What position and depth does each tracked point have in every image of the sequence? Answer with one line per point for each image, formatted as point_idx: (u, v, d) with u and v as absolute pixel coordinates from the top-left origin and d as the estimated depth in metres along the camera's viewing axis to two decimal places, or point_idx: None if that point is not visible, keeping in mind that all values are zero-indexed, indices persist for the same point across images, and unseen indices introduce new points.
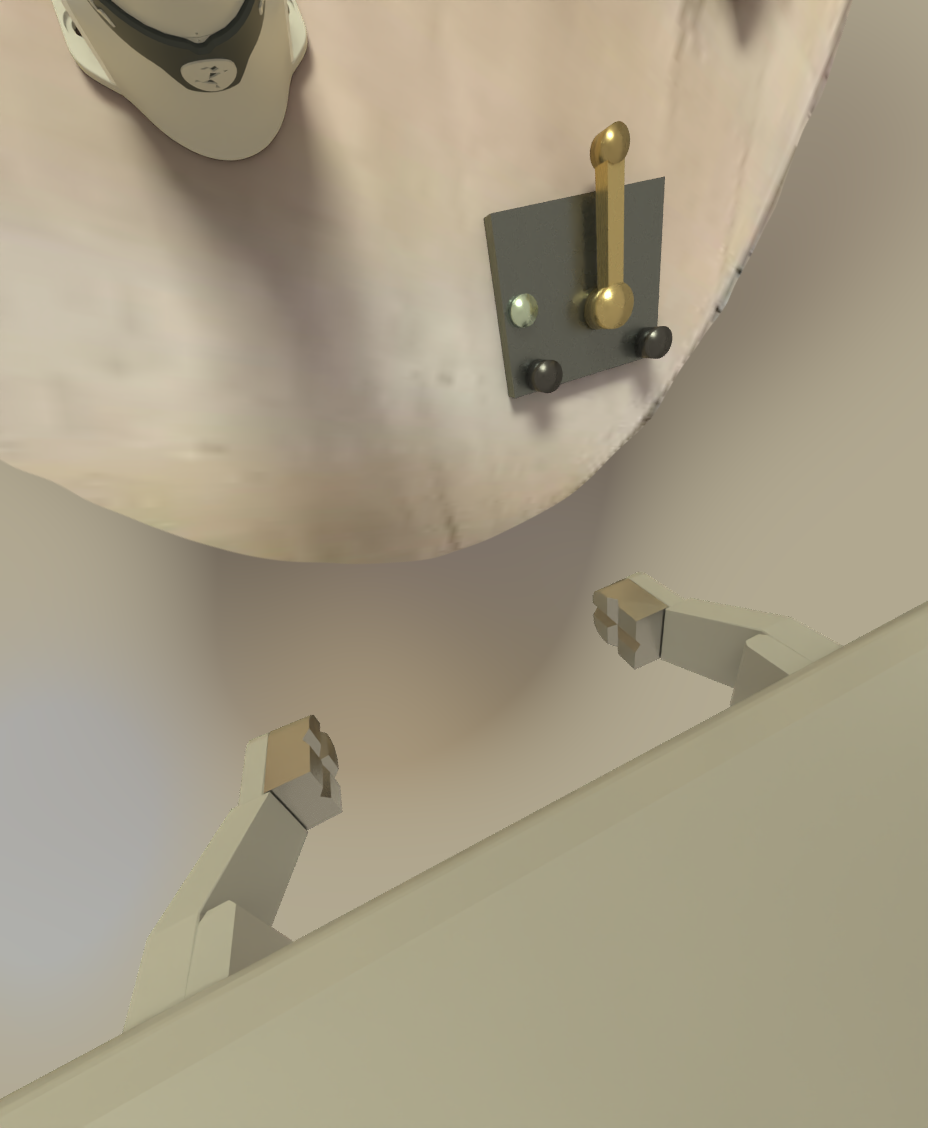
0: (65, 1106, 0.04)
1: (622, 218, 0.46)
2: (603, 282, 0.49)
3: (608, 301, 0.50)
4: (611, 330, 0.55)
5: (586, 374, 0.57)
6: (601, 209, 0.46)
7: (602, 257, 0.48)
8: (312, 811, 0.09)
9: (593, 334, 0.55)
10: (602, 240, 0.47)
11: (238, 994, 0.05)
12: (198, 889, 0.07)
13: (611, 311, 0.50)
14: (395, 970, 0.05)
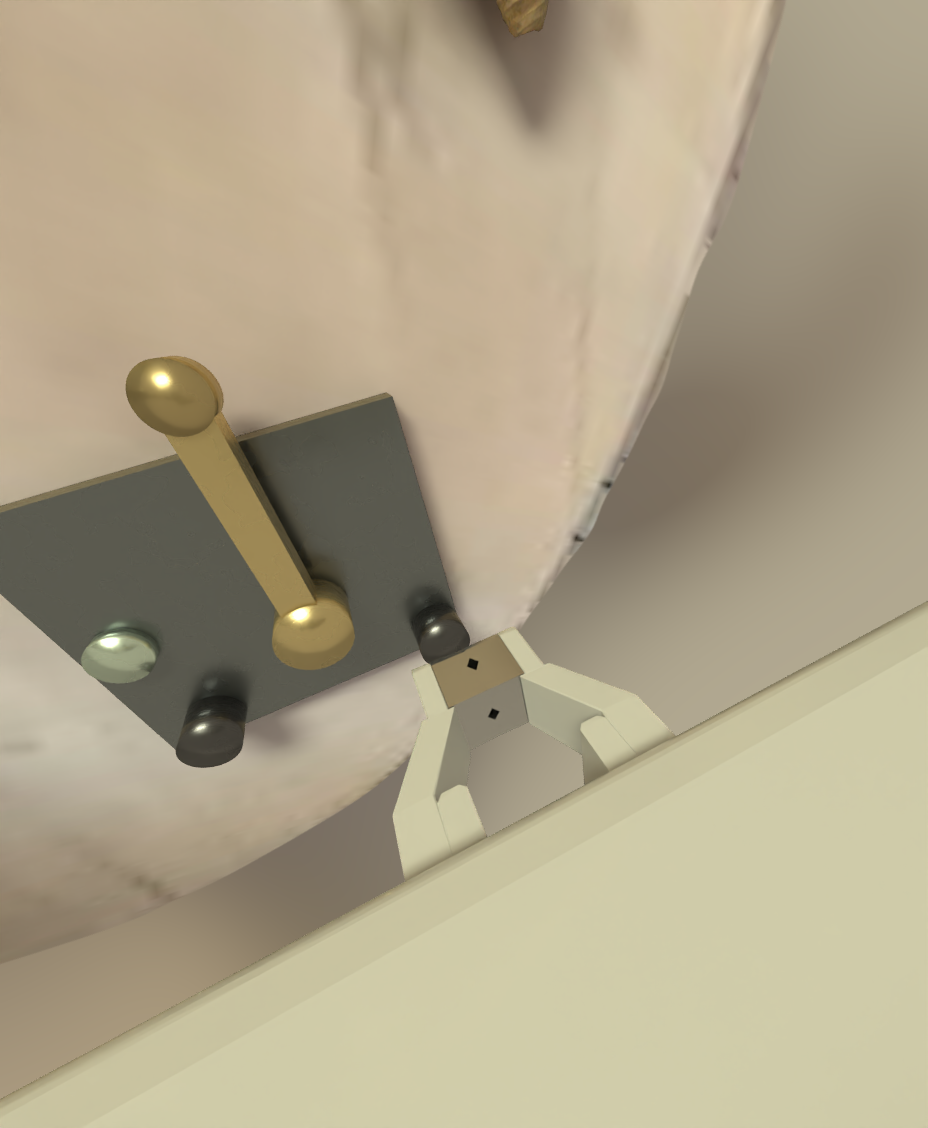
0: (66, 1106, 0.04)
1: (264, 518, 0.21)
2: None
3: (288, 640, 0.25)
4: (355, 626, 0.31)
5: (325, 687, 0.32)
6: None
7: None
8: (478, 731, 0.09)
9: None
10: None
11: (238, 994, 0.05)
12: (423, 778, 0.07)
13: (303, 650, 0.25)
14: (395, 970, 0.05)
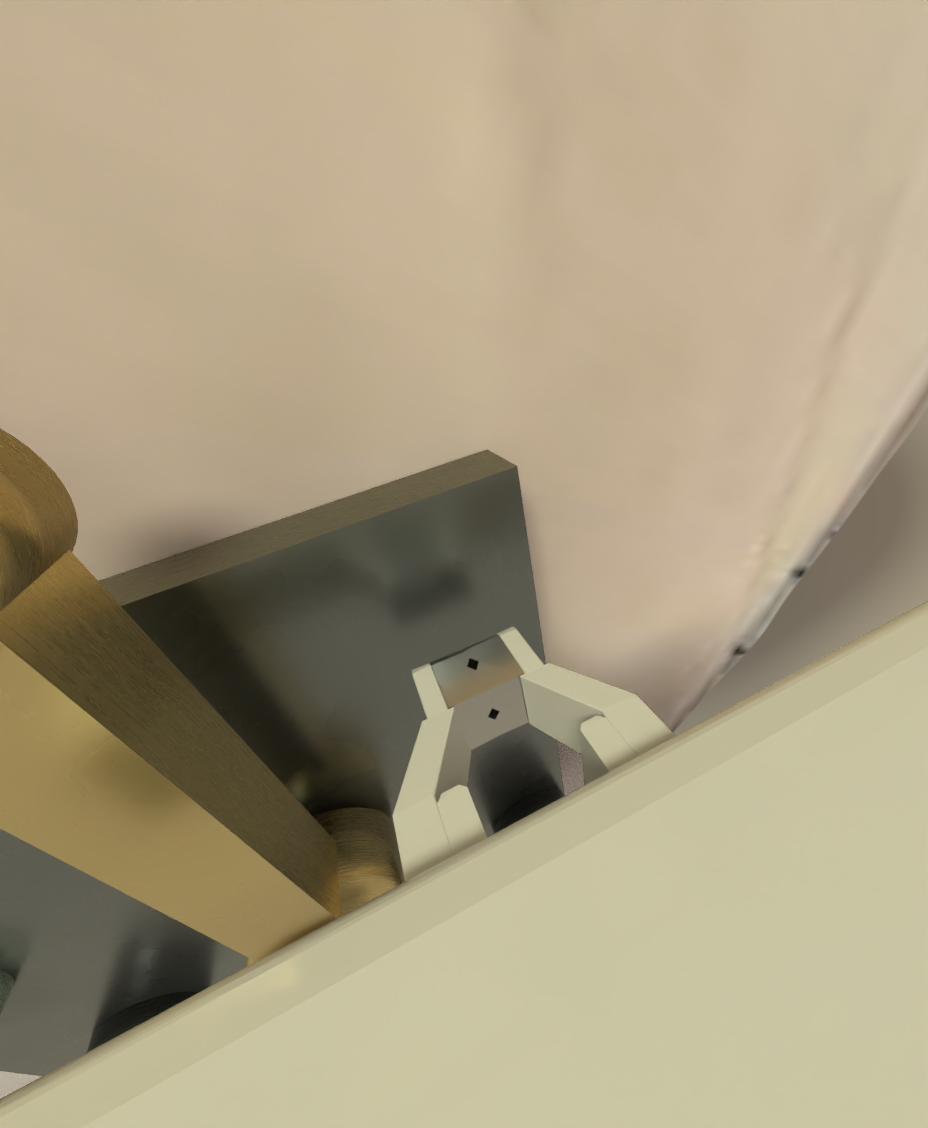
0: (65, 1106, 0.04)
1: (207, 826, 0.08)
2: None
3: None
4: None
5: None
6: None
7: None
8: (478, 731, 0.09)
9: None
10: None
11: (238, 994, 0.05)
12: (423, 779, 0.07)
13: None
14: (395, 970, 0.05)
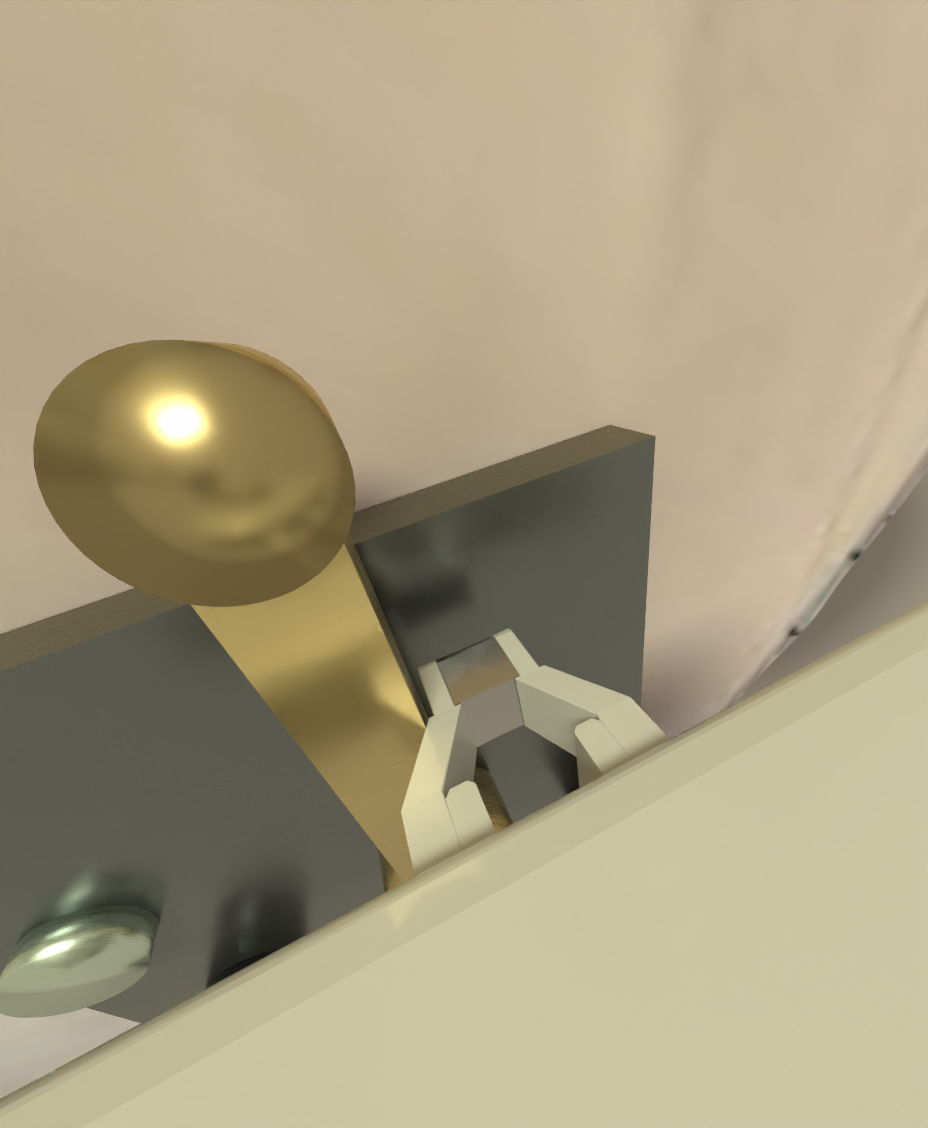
0: (66, 1107, 0.04)
1: None
2: None
3: None
4: None
5: None
6: None
7: None
8: (484, 728, 0.09)
9: None
10: None
11: (238, 994, 0.05)
12: (431, 775, 0.07)
13: None
14: (395, 970, 0.05)
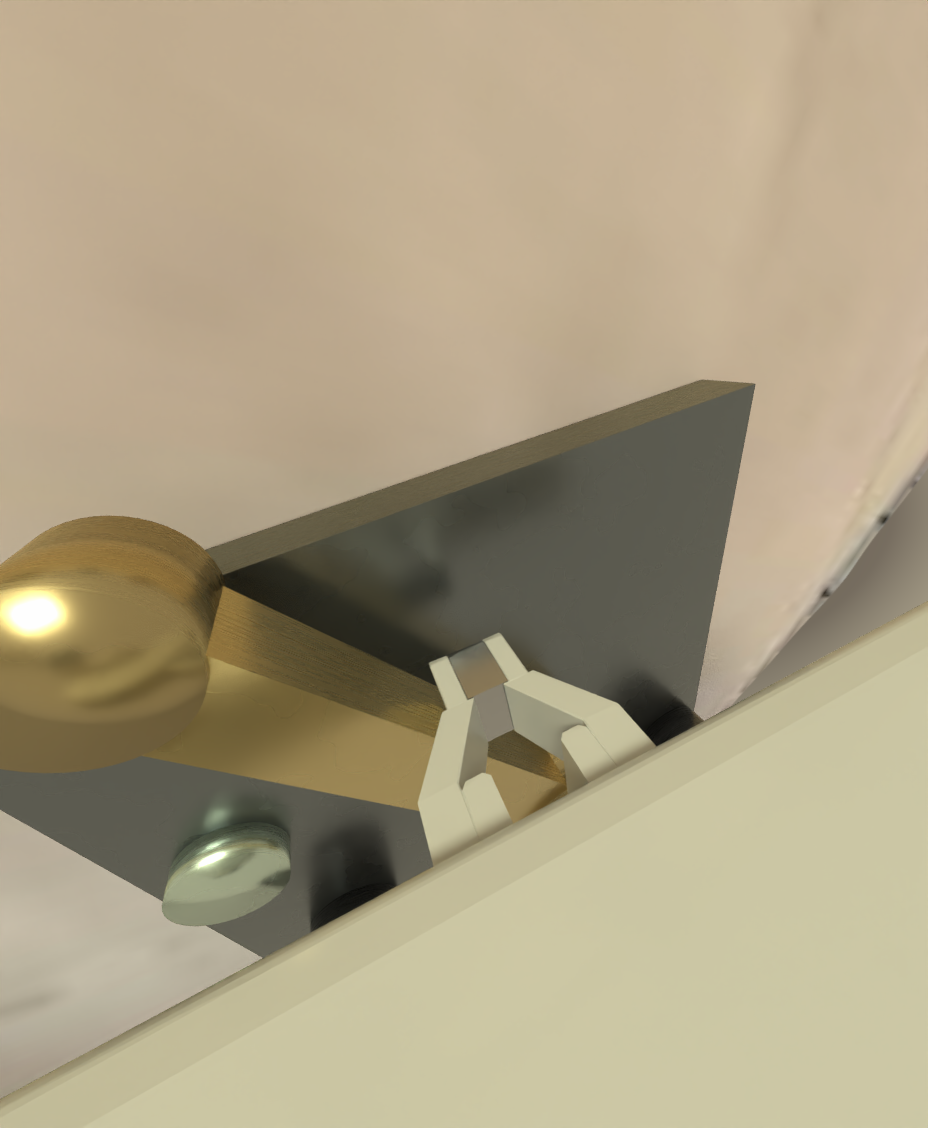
0: (66, 1107, 0.04)
1: (430, 744, 0.09)
2: None
3: None
4: None
5: None
6: None
7: None
8: (495, 723, 0.09)
9: None
10: None
11: (238, 994, 0.05)
12: (446, 767, 0.07)
13: None
14: (395, 970, 0.05)
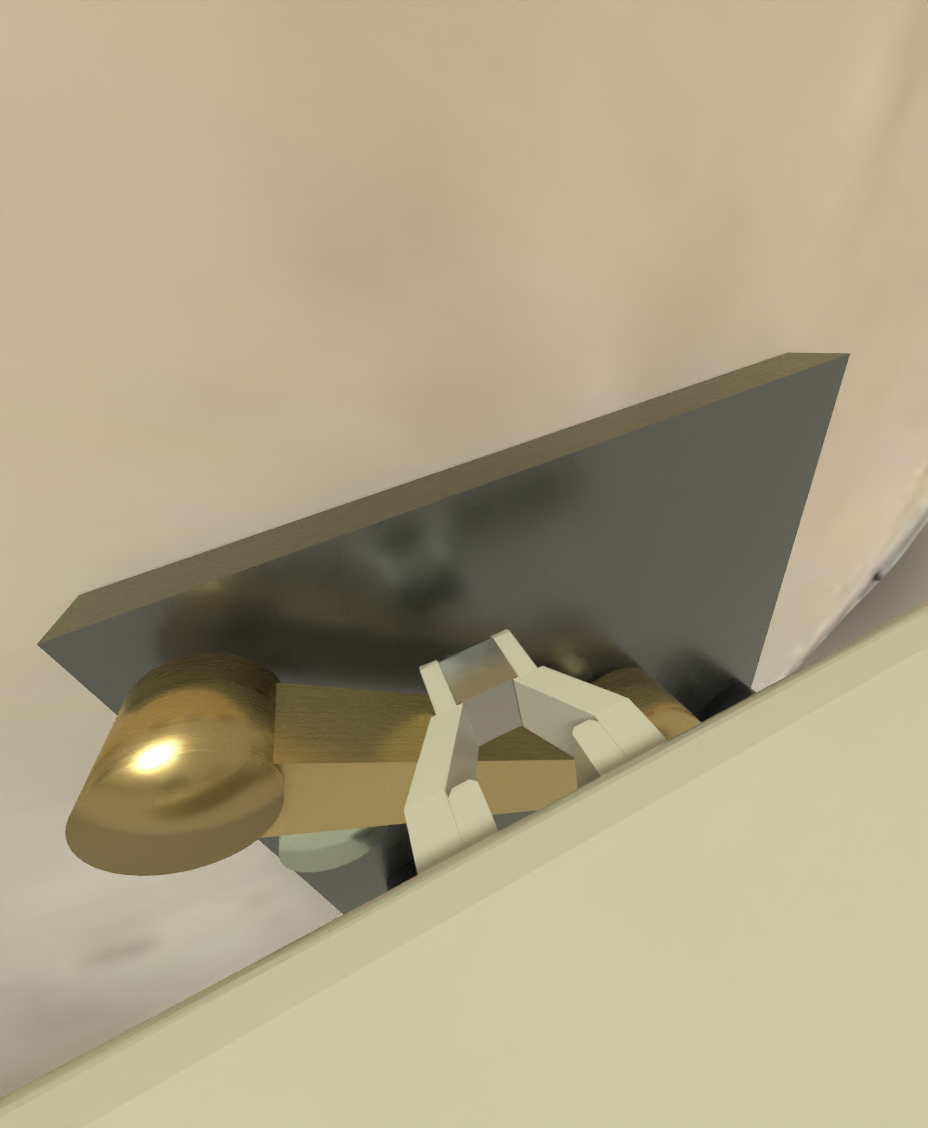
0: (65, 1106, 0.04)
1: (489, 766, 0.10)
2: None
3: None
4: None
5: None
6: None
7: None
8: (485, 727, 0.09)
9: None
10: None
11: (238, 994, 0.05)
12: (433, 773, 0.07)
13: None
14: (395, 970, 0.05)
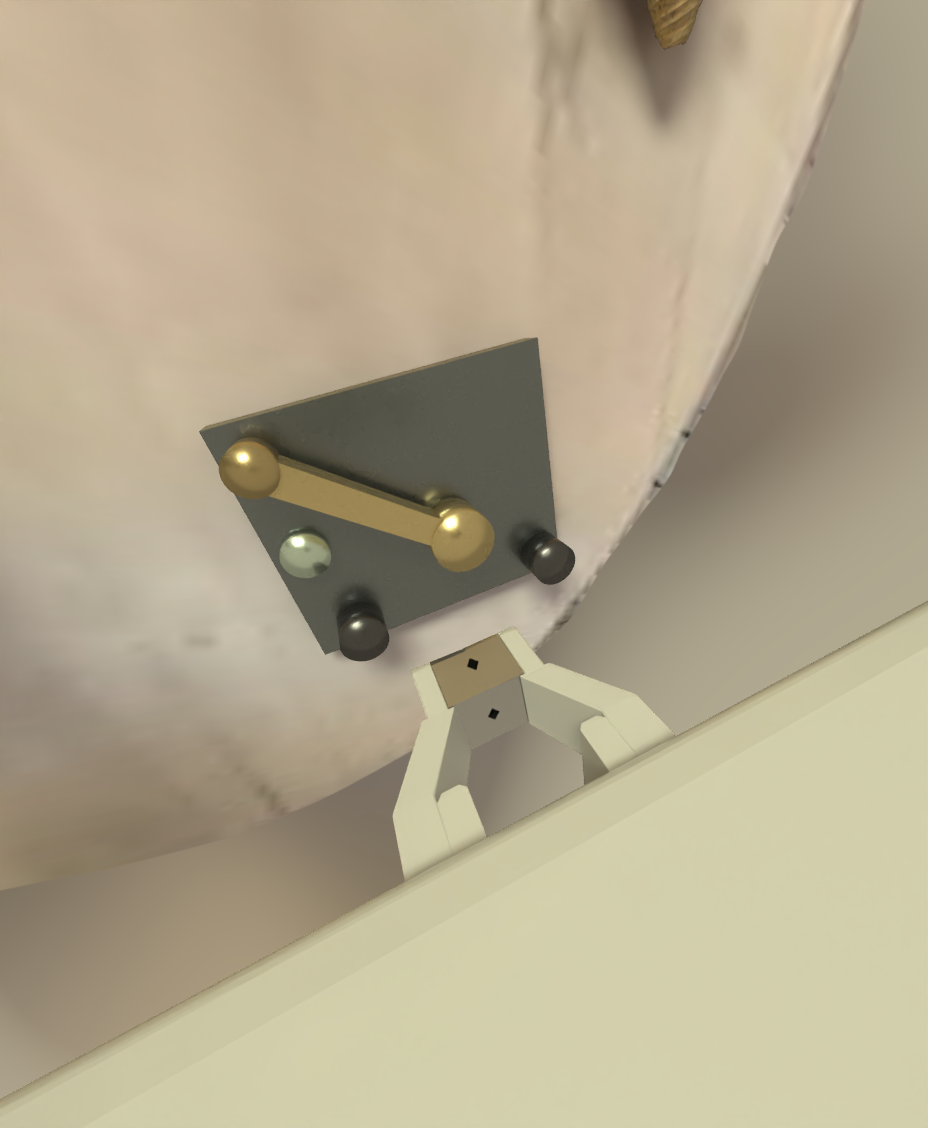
0: (65, 1108, 0.04)
1: (360, 494, 0.26)
2: None
3: (449, 555, 0.30)
4: None
5: (446, 604, 0.37)
6: None
7: None
8: (478, 731, 0.09)
9: None
10: None
11: (238, 994, 0.05)
12: (423, 778, 0.07)
13: (464, 555, 0.31)
14: (395, 970, 0.05)
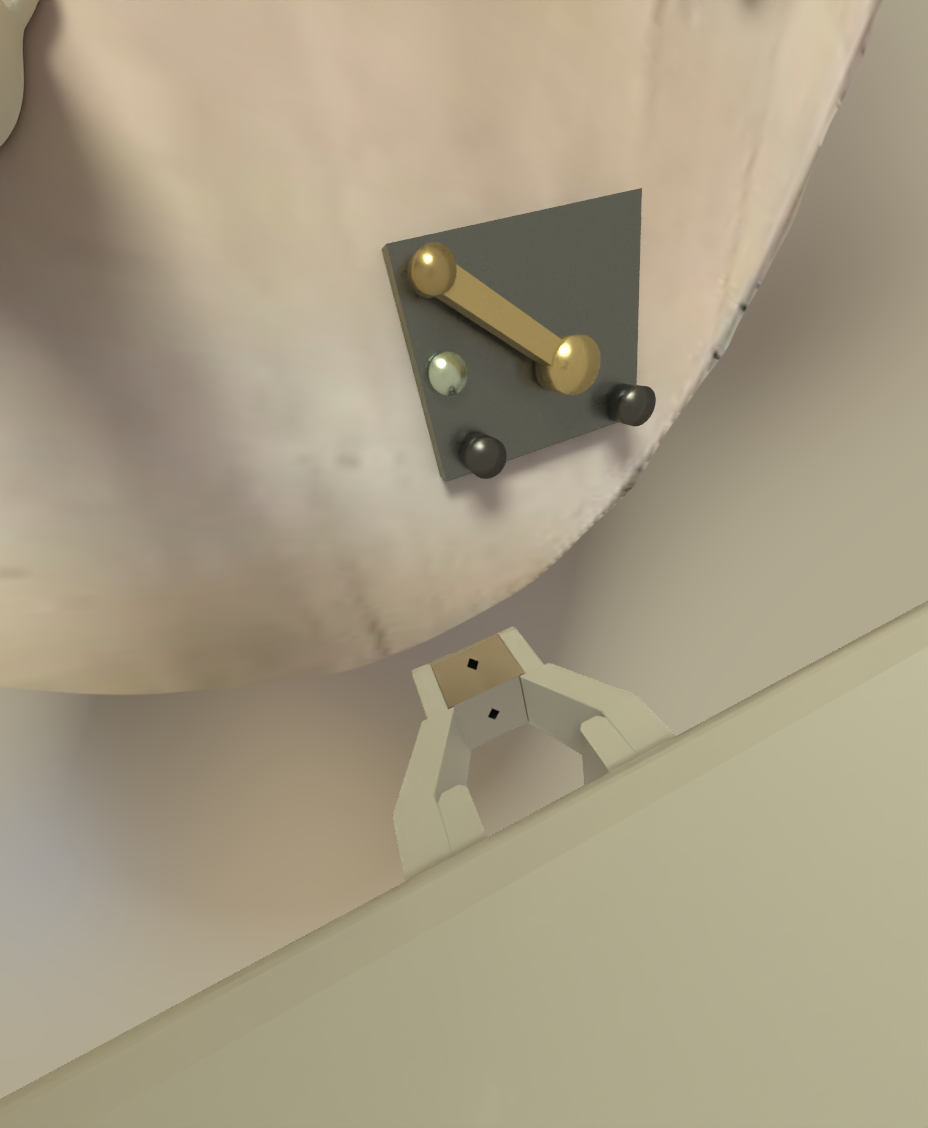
0: (65, 1105, 0.04)
1: (508, 304, 0.32)
2: (542, 362, 0.36)
3: (564, 376, 0.37)
4: None
5: (543, 446, 0.43)
6: (478, 321, 0.33)
7: (520, 348, 0.35)
8: (478, 731, 0.09)
9: (550, 397, 0.41)
10: (506, 339, 0.34)
11: (238, 994, 0.05)
12: (423, 778, 0.07)
13: (575, 377, 0.37)
14: (395, 970, 0.05)
